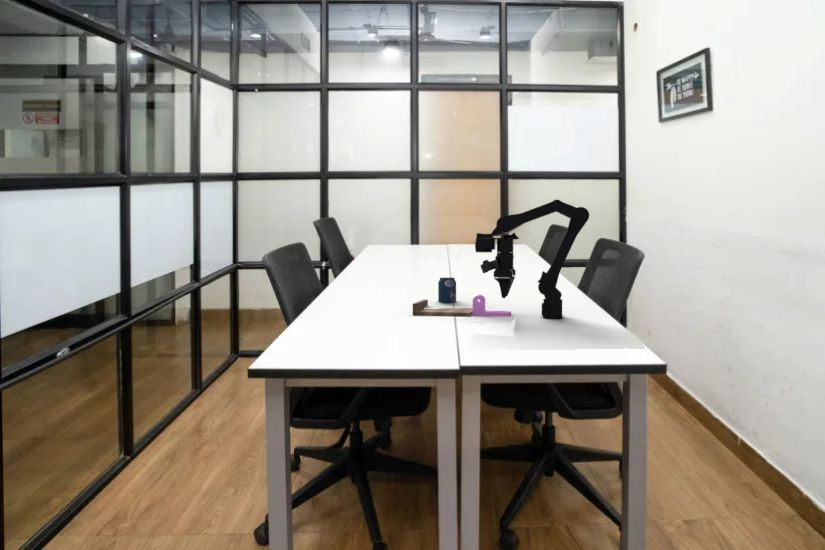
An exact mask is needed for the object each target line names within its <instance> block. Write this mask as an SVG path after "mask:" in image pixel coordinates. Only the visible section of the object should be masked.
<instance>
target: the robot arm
mask: <svg viewBox="0 0 825 550" xmlns="http://www.w3.org/2000/svg"><path fill="white" fill-rule="evenodd" d="M554 213H559V215H563V216H564V217H567V218H569V222H568V225H567V230H566V233H565V235H564V237H563V238H562V240H561V241H562V242H561V243H560V245H559V247H558V250H557V252H556V253H555V257H554V259H553V261H552V263H551V264H550V267H549V269H548V270H547V271H544V270H542V272H541V276H540V278H539V279H538V280H537V283H538V286H537V287H538V288H537V289H538V291H539V293H540V294H542V295H543V296H544V298H543V302H542V303H541V316H542V318H547V319H549V318H551V319H552V318H553V319H555V318H556V319H563V299H562V291H560V290H559V289H558V288H557V284H558V281H559V276H560V273H561V270H562V268H563V266H564V264H565V262H566V259H567V257H568V255H569V254H570V251H571V249H572V246H573V244H574V243H575V240H576V238H577V236H578V235H579V233H580V232H581V230H582V229H583V228H584V227H585V225H586V224H587V221H589V219H590V212H589V210H588V209H587V208H586V207H583V206H578V207H575V206H573V205H571V204H569V203H565V202H563V201H562V200H560V199H553V200H552V201H551V202H548V203H545V204H542V205H539V206H537V207H534V208H531V209H528V210H527V211H524V212H520V213H516V214H515V213H513V214H508V215H504V216H501V217H499V218H498V219H497V220H496V223H495V224H496V226H495V228H494V229H493V230H492V232H491V233H479V232H478V233H476V237H475V242H474V249H475V253H493V251H494V250H496V256H495V259H494V260H490V261H489V260H488V259H485V260H483V261H482V264H480V269H481V271H482V273H483V274H486V273H488V272H490V271H492V270H494V271H493V278H494V280H495V281H496V282H497V283H498V285H499V289H500V294H501V299H506V297H508V295H509V294H510V291H511V288H512V286H513V283H514V281H515V279H516V271H517V270H516V269H515V267H514V259H515V255H514V240H519V239H520V237H518V235H517V234H516V232H513V233H512V234H510V233H511V232H512V231H514V230H516V229H518V228H519V227H521V226H523V225H525V224H527V223H529V222H532V221H536V220H537V219H540V218H543V217H547V216H549V215H551V214H554ZM501 235H503V236H502V237H500V236H501Z"/></svg>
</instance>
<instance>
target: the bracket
mask: <svg viewBox="0 0 825 550" xmlns="http://www.w3.org/2000/svg"><path fill="white" fill-rule="evenodd" d="M472 308H473V314H472V316H474V317H475V316H478V317H479V316H481V317H512V311H510V310H486V298H485V296H484V295H482V294H478V295H475V296H474V297H473V298H472Z"/></svg>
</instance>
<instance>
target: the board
mask: <svg viewBox="0 0 825 550" xmlns="http://www.w3.org/2000/svg"><path fill="white" fill-rule="evenodd" d="M427 305H428V306H429V300H428V299H422V300H421V299H420V300H419V301H417V302H414V303H412V316H431V317H432V316H435V317H438V316H439V317H440V316H441V317H471V316H473V307H462V308H461V307H446V308H445V307H443V308H442V307H441V308H440V307H437V308H438V309H424V308H425V307H426V306H427ZM428 306H427V307H428ZM427 307H426V308H427Z"/></svg>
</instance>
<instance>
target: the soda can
mask: <svg viewBox="0 0 825 550" xmlns="http://www.w3.org/2000/svg"><path fill="white" fill-rule="evenodd" d="M437 283H438V284H437V286H438V287H437V288H438V289H437V290H438V293H437V295H438V298H437V300H438V301H437V302H438V303H441V304H454V303H456V302H457V281H456V280H455V277H439V280H438V281H437Z"/></svg>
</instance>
